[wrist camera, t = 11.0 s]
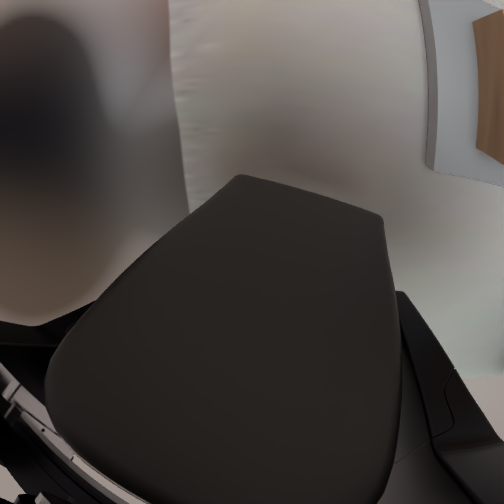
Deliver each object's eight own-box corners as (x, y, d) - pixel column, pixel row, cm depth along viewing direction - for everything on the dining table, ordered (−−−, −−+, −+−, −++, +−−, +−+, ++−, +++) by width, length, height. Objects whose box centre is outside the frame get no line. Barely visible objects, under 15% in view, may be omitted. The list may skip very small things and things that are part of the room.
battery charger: (226, 239, 14) (77, 444, 5) (233, 168, 12) (3, 391, 3) (359, 281, 13) (310, 540, 4) (389, 214, 10) (386, 555, 1)
